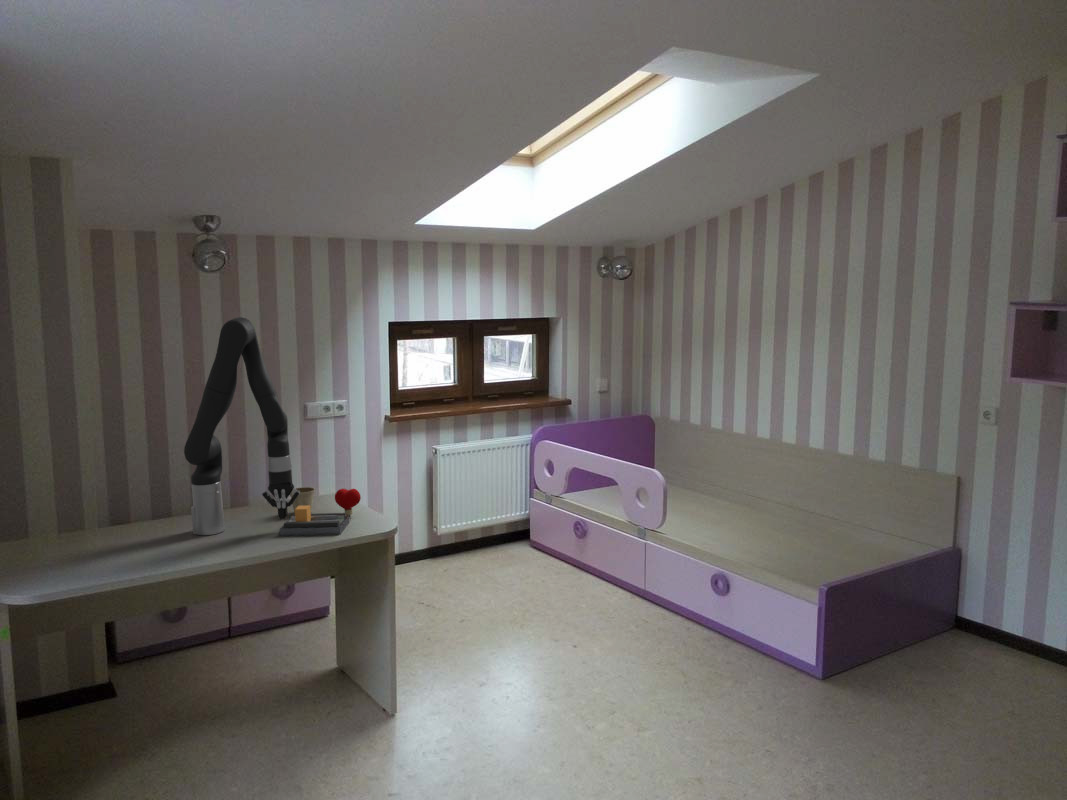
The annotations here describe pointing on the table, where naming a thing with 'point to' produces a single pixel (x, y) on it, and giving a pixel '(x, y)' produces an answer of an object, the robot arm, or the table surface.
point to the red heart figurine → (347, 499)
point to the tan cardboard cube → (303, 513)
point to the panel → (317, 530)
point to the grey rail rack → (314, 524)
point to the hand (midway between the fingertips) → (283, 518)
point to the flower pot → (304, 497)
